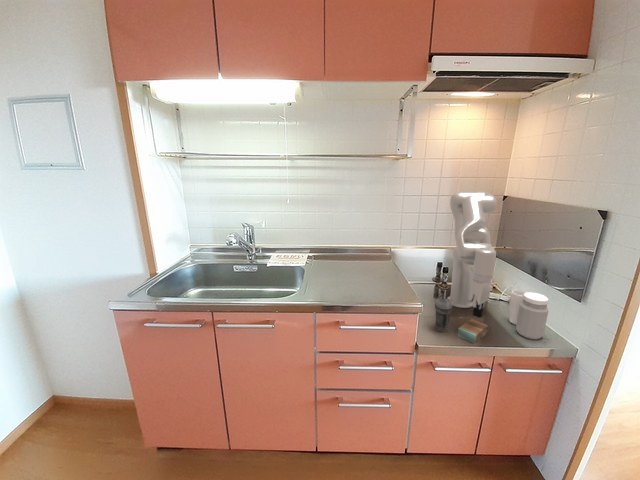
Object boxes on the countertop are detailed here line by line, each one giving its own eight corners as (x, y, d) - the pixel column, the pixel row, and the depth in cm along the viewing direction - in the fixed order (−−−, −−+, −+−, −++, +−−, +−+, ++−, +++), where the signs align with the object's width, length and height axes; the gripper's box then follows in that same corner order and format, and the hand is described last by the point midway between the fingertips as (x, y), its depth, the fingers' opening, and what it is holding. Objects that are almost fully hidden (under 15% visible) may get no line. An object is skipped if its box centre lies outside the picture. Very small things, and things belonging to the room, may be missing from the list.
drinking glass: (514, 317, 133) (518, 288, 129) (528, 324, 126) (533, 294, 123) (503, 320, 131) (508, 291, 127) (517, 327, 124) (522, 297, 121)
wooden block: (471, 318, 126) (458, 328, 119) (488, 325, 120) (475, 335, 113) (470, 326, 127) (457, 336, 120) (487, 333, 121) (474, 343, 114)
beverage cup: (449, 326, 127) (453, 286, 122) (450, 334, 121) (455, 293, 115) (432, 323, 130) (435, 284, 125) (433, 331, 123) (436, 291, 118)
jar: (549, 338, 116) (557, 300, 111) (529, 342, 114) (537, 303, 110) (527, 326, 125) (534, 290, 121) (509, 329, 123) (515, 292, 119)
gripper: (481, 270, 122) (476, 307, 127) (464, 278, 114) (460, 318, 118) (499, 275, 116) (494, 313, 121) (484, 284, 108) (478, 325, 112)
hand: (477, 315), depth 120 cm, fingers closed
